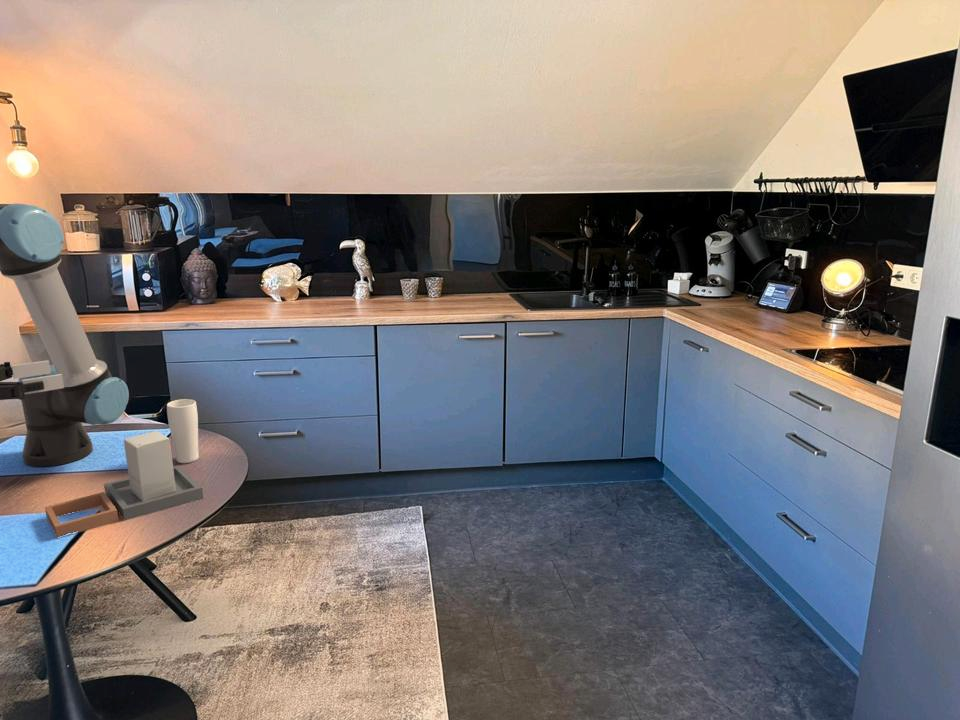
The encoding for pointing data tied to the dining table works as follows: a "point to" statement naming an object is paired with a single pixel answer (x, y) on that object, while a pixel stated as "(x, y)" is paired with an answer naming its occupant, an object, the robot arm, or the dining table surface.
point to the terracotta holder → (84, 522)
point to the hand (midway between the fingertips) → (56, 373)
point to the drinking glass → (184, 429)
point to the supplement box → (150, 465)
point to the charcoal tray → (136, 507)
